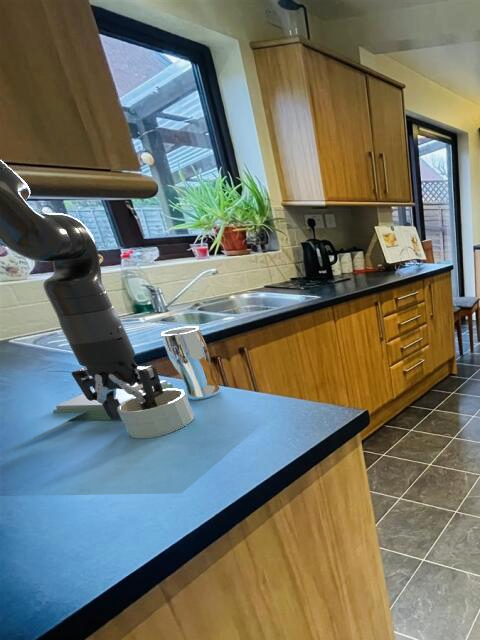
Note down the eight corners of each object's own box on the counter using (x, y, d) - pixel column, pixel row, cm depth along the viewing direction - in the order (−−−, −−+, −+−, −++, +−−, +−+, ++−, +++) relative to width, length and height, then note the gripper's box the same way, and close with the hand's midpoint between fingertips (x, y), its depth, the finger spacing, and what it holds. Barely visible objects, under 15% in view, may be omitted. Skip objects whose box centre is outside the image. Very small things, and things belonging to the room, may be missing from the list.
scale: (58, 421, 81) (50, 407, 80) (116, 393, 93) (110, 380, 92) (125, 419, 81) (119, 405, 79) (176, 392, 93) (171, 379, 91)
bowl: (115, 439, 74) (101, 412, 72) (159, 413, 83) (148, 389, 81) (167, 438, 74) (156, 411, 71) (206, 412, 83) (197, 388, 80)
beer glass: (199, 402, 87) (173, 336, 81) (178, 398, 89) (151, 334, 83) (229, 389, 93) (207, 327, 87) (209, 386, 95) (186, 325, 89)
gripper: (34, 343, 68) (81, 428, 74) (117, 341, 67) (156, 427, 74) (79, 330, 74) (118, 409, 81) (154, 328, 74) (187, 408, 81)
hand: (136, 417), depth 78 cm, fingers open, 6 cm apart
